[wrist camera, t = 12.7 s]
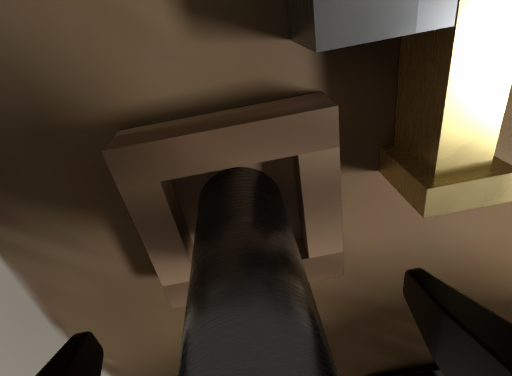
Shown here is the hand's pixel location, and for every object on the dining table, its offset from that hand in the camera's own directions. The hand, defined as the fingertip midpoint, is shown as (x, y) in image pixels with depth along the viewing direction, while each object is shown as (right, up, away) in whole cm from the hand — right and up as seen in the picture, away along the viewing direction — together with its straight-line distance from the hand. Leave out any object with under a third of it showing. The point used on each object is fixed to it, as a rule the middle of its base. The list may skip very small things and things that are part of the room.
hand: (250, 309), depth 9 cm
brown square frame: (-1, +3, +5) cm, 6 cm away
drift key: (+6, +9, +3) cm, 11 cm away
